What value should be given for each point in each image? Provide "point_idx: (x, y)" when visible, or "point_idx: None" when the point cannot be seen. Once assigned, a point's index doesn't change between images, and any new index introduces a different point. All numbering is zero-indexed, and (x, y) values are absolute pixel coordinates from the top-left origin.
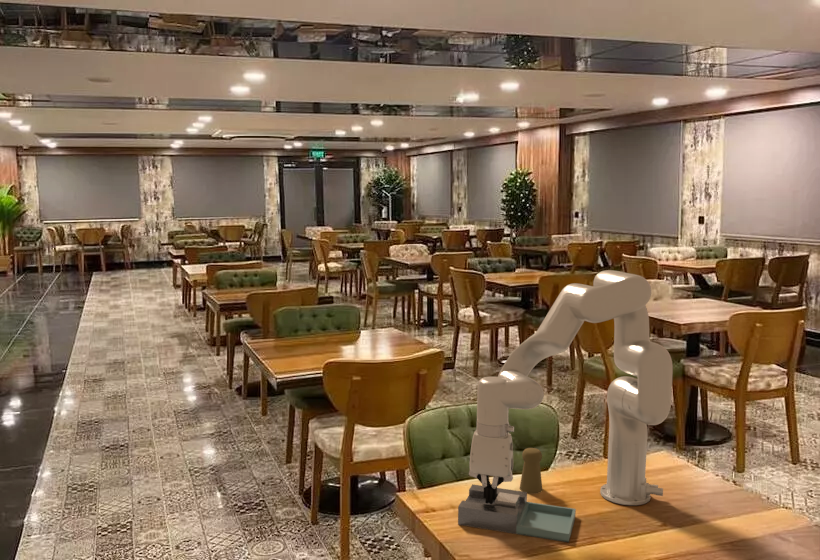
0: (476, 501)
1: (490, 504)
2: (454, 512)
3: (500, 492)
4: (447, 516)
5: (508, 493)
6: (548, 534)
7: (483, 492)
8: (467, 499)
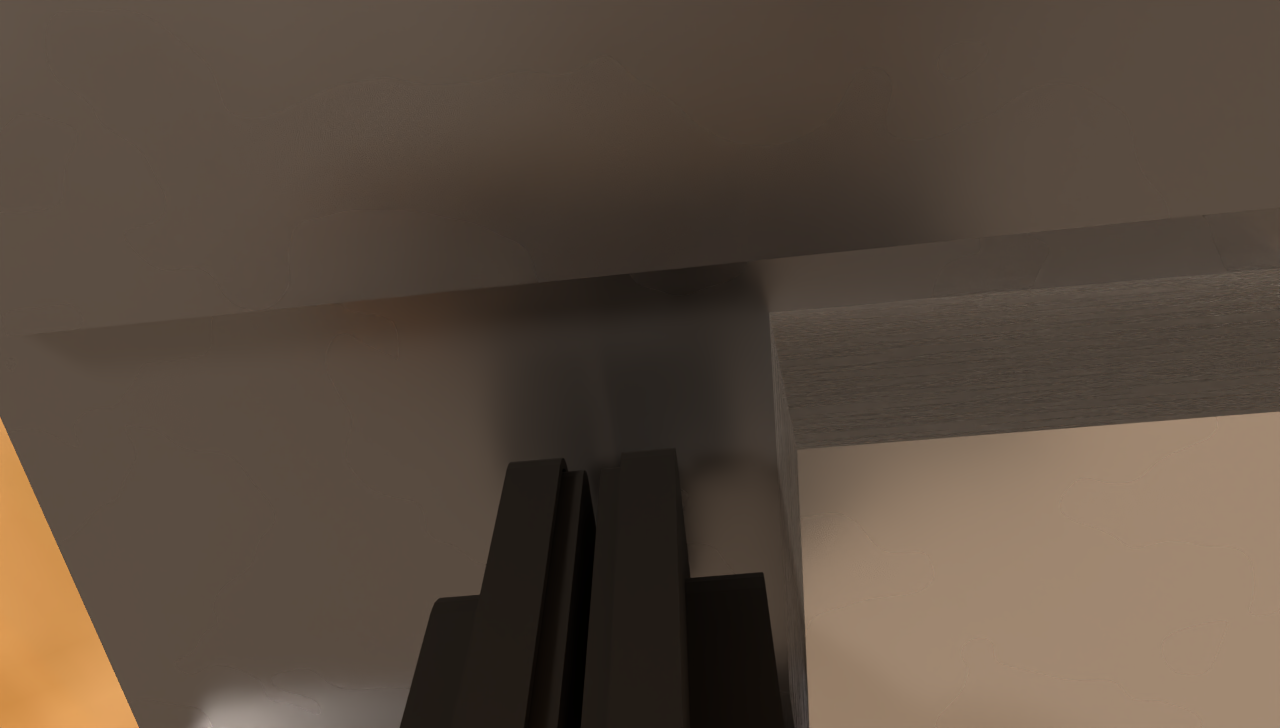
0: (283, 502)
1: None
2: (18, 492)
3: (833, 461)
4: (21, 646)
5: (1010, 99)
6: None
7: (270, 303)
8: (59, 493)
